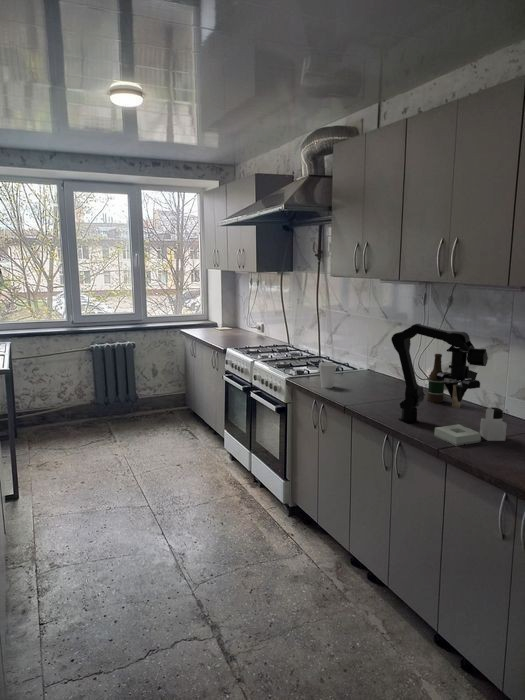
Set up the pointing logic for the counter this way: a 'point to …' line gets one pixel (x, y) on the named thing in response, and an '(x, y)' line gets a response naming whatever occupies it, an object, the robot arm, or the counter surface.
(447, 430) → the bore block
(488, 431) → the medicine bottle
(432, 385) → the beer bottle
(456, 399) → the dowel
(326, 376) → the foam cup
